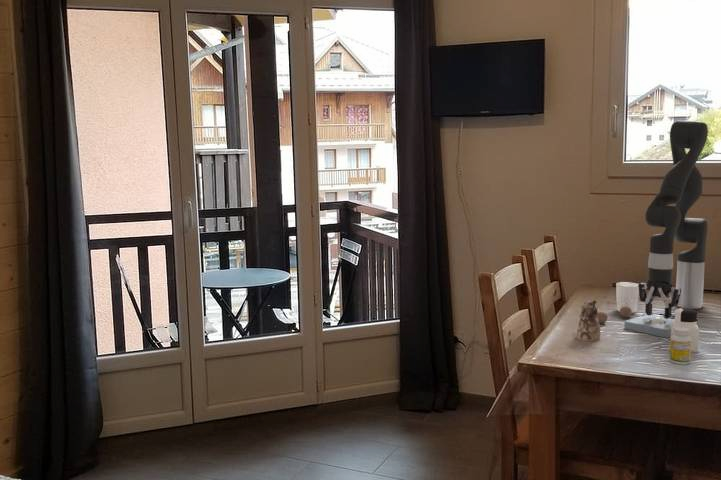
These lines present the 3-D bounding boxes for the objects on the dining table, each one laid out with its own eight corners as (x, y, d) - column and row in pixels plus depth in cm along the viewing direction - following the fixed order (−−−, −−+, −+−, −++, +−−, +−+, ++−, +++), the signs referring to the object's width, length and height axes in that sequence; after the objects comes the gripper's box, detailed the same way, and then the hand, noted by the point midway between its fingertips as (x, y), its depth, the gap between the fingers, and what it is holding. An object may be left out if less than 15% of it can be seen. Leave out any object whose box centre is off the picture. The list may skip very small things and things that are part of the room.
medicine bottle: (695, 346, 219) (697, 307, 218) (698, 352, 213) (700, 312, 211) (670, 344, 222) (672, 305, 220) (671, 350, 215) (674, 311, 213)
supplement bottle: (686, 366, 200) (688, 332, 199) (666, 362, 204) (668, 329, 202) (692, 361, 204) (694, 328, 203) (672, 358, 208) (674, 325, 206)
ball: (654, 327, 242) (655, 315, 241) (666, 329, 239) (666, 317, 238) (648, 329, 239) (649, 317, 239) (659, 331, 236) (660, 319, 236)
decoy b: (599, 321, 250) (599, 309, 250) (609, 323, 247) (610, 311, 247) (592, 322, 248) (593, 311, 247) (602, 325, 245) (603, 313, 244)
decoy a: (623, 315, 258) (623, 304, 257) (633, 317, 255) (634, 306, 254) (617, 317, 255) (617, 306, 255) (627, 319, 252) (628, 308, 252)
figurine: (571, 336, 231) (573, 299, 229) (589, 334, 234) (591, 297, 232) (586, 342, 225) (588, 304, 223) (604, 339, 227) (606, 302, 226)
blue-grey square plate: (648, 321, 249) (648, 314, 249) (690, 329, 238) (691, 322, 238) (624, 328, 240) (624, 321, 240) (667, 337, 229) (667, 330, 228)
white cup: (639, 313, 260) (641, 286, 259) (616, 313, 261) (618, 285, 260) (636, 308, 268) (637, 282, 266) (613, 308, 269) (614, 281, 268)
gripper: (687, 267, 233) (684, 319, 235) (646, 262, 244) (643, 311, 246) (675, 270, 228) (673, 322, 231) (634, 264, 239) (631, 314, 242)
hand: (657, 316), depth 238 cm, fingers open, 5 cm apart
